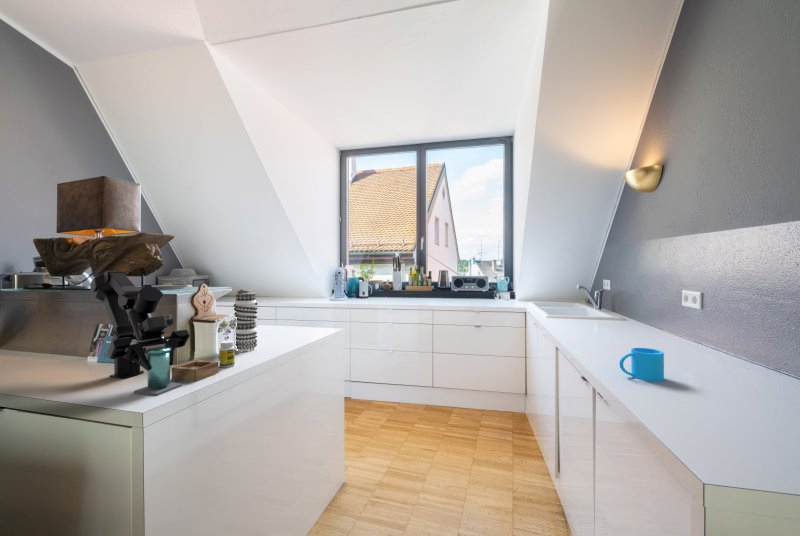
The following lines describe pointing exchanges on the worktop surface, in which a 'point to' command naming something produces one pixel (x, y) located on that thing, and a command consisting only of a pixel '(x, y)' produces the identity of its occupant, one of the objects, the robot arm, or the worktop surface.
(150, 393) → the mat
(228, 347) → the supplement bottle
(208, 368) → the wooden tray
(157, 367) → the teal glass jar
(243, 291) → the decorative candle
